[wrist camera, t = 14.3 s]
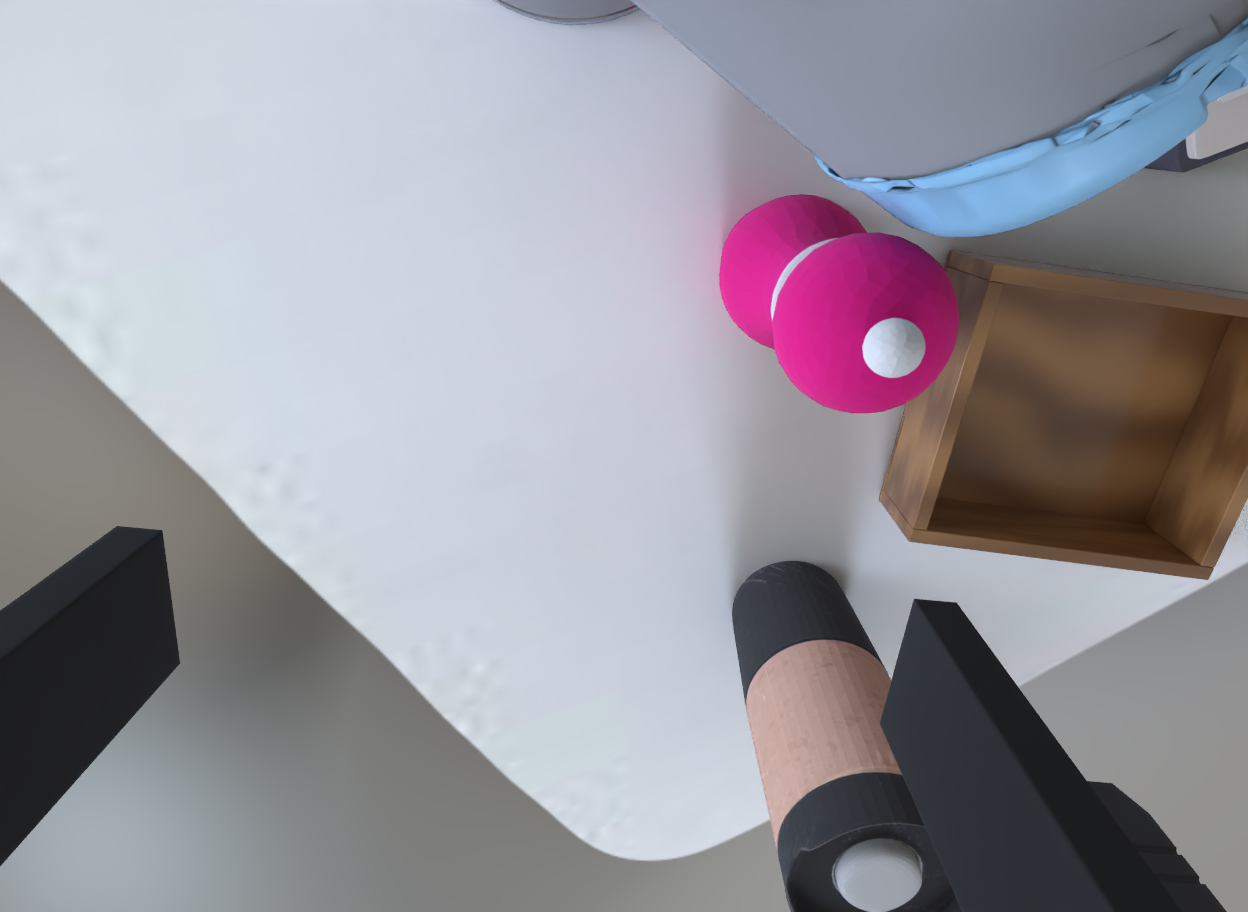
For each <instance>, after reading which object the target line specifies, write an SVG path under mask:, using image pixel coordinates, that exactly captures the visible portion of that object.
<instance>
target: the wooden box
mask: <svg viewBox="0 0 1248 912" xmlns="http://www.w3.org/2000/svg"><path fill="white" fill-rule="evenodd" d="M944 271H945V272H946V274H947V276H948V278H949V279H950V281H951V283H952V285H953V288H954V291H955V294H956V297H957V300H958V308H959V327H958V335H957V339H956V343H955V347H954V350H953V352H952V354H951V356H950V359H949V361H948V363H947V364H946V366H945V367H944V369H943V370H942V372H941V373H940V374H939V376H938V377H937V379H936V380H935V381H934V382H933V383H932V384H931V385H930V386H929V387H928V388H927V389H925V390H924V391H923V392H922V393H921V394H919V395H918V396H917V397H915V398H913V399H912V400H910V401H908V402H907V403H906V407H905V410H904V414H903V417H902V421H901V424H900V428H899V431H898V435H897V438H896V442H895V445H894V449H893V452H892V456H891V459H890V463H889V466H888V470H887V473H886V477H885V480H884V484H883V487H882V491H881V494H880V498H879V501H880V502H881V503H882V504H883V506H884V507H885V509H886V510H887V512H888V513H889V514H890V516H891V517H892V519H893V520H894V521H895V523H896V524H897V526H898V527H899V528H900V530H901V531H902V533H903V534H904V535H905V537H906V538H907V540H908V541H909V542H917V543H924V544H932V545H940V546H948V547H956V548H963V549H971V550H979V551H987V552H995V553H1002V554H1010V555H1018V556H1026V557H1033V558H1041V559H1049V560H1057V561H1065V562H1072V563H1080V564H1088V565H1096V566H1104V567H1111V568H1119V569H1127V570H1135V571H1142V572H1150V573H1158V574H1166V575H1174V576H1181V577H1189V578H1197V579H1205V580H1208V579H1209V577H1210V575H1211V573H1212V571H1213V567H1215V565H1216V563H1217V561H1218V559H1219V557H1220V555H1221V553H1222V550H1223V548H1224V546H1225V544H1226V542H1227V540H1228V538H1229V536H1230V534H1231V532H1232V530H1233V528H1234V525H1235V523H1236V521H1237V519H1238V517H1239V515H1240V513H1241V511H1242V509H1243V507H1244V505H1245V502H1246V500H1247V498H1248V293H1245V292H1238V291H1231V290H1224V289H1217V288H1210V287H1203V286H1197V285H1190V284H1183V283H1176V282H1169V281H1162V280H1155V279H1148V278H1141V277H1134V276H1127V275H1121V274H1114V273H1107V272H1100V271H1093V270H1086V269H1079V268H1072V267H1065V266H1058V265H1051V264H1045V263H1038V262H1031V261H1024V260H1017V259H1010V258H1003V257H996V256H989V255H982V254H975V253H969V252H962V251H955V250H950V252H949V256H948V259H947V263H946V266H945V270H944Z"/></svg>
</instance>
